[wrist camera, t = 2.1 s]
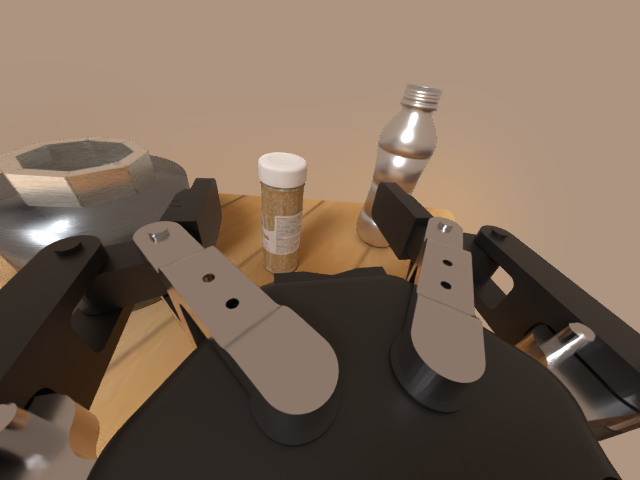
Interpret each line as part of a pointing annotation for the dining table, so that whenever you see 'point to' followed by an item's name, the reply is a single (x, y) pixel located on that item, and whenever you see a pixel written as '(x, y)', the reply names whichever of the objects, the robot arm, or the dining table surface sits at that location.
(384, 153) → the plastic bottle
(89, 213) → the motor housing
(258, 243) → the dining table surface
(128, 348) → the dining table surface
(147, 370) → the dining table surface
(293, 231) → the spice jar
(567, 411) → the robot arm
